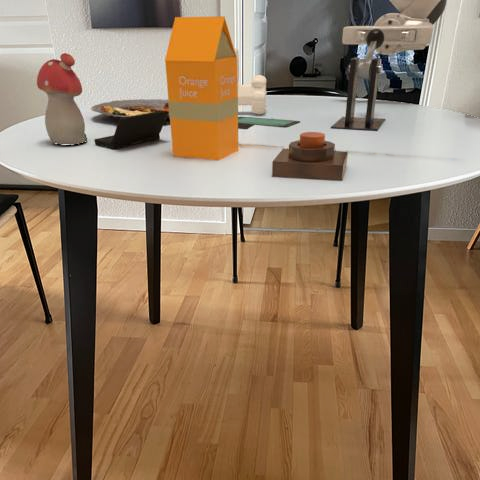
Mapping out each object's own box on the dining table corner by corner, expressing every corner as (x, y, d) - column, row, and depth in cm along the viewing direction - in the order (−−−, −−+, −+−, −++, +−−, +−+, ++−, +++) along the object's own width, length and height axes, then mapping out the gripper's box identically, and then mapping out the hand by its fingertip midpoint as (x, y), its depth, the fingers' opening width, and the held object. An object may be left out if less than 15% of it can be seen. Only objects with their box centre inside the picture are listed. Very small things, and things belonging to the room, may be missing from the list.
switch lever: (367, 43, 104) (368, 25, 101) (385, 43, 103) (386, 25, 100) (353, 81, 97) (354, 63, 94) (372, 82, 96) (373, 64, 93)
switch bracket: (342, 122, 107) (347, 56, 101) (384, 125, 104) (393, 56, 98) (330, 133, 98) (335, 60, 91) (376, 136, 95) (386, 61, 88)
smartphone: (239, 115, 110) (301, 120, 104) (239, 121, 111) (301, 126, 104) (221, 120, 105) (285, 126, 98) (222, 127, 105) (285, 132, 99)
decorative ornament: (97, 144, 93) (82, 52, 85) (63, 149, 89) (45, 55, 81) (74, 136, 99) (59, 50, 91) (42, 141, 95) (23, 52, 87)
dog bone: (266, 110, 123) (267, 73, 118) (265, 116, 115) (265, 77, 111) (206, 110, 124) (204, 74, 119) (201, 116, 116) (199, 78, 112)
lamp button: (325, 144, 74) (326, 132, 73) (322, 150, 71) (323, 137, 70) (301, 143, 74) (302, 131, 73) (297, 149, 71) (298, 136, 70)
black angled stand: (130, 125, 99) (145, 84, 91) (156, 150, 99) (174, 111, 91) (88, 145, 92) (101, 102, 84) (117, 172, 92) (132, 132, 84)
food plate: (220, 115, 117) (219, 99, 116) (143, 131, 103) (141, 112, 101) (151, 105, 132) (150, 91, 130) (75, 118, 117) (72, 101, 115)
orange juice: (195, 146, 90) (187, 17, 79) (239, 150, 87) (237, 16, 76) (172, 156, 84) (160, 17, 73) (218, 161, 81) (213, 16, 70)
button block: (346, 167, 76) (349, 139, 74) (341, 181, 70) (344, 152, 68) (282, 163, 79) (283, 137, 77) (272, 177, 72) (272, 148, 70)
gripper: (348, 19, 123) (337, 20, 112) (436, 18, 117) (433, 19, 106) (346, 48, 126) (335, 52, 115) (431, 49, 120) (427, 52, 109)
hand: (382, 36), depth 110 cm, fingers open, 8 cm apart
